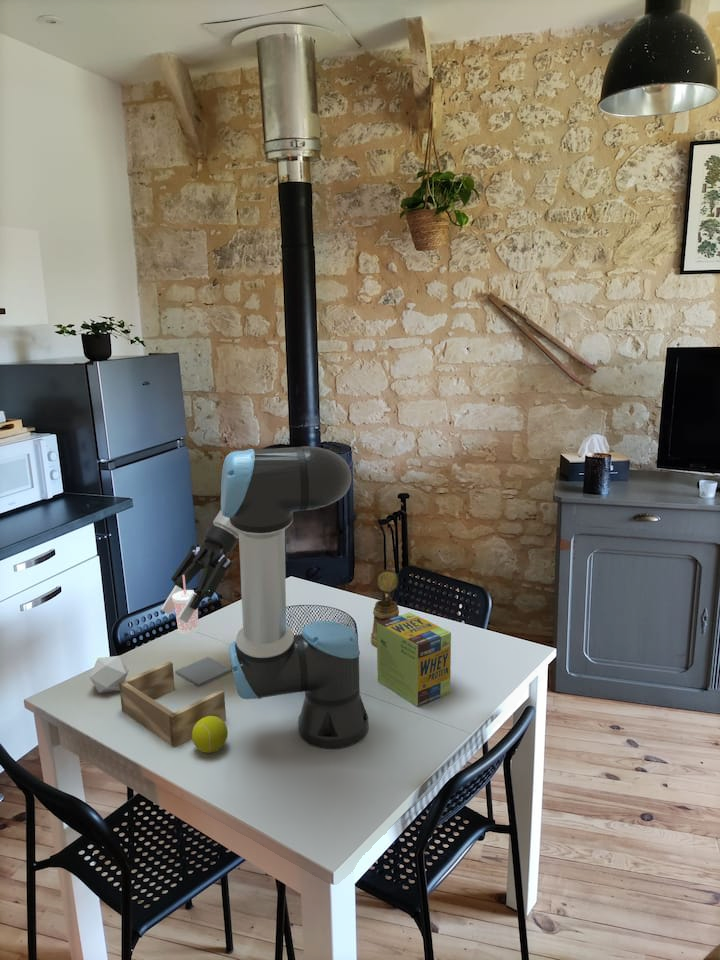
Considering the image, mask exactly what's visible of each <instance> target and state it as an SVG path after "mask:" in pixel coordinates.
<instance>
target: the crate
mask: <svg viewBox="0 0 720 960" xmlns="http://www.w3.org/2000/svg"><path fill="white" fill-rule="evenodd" d="M175 686H176V685H175V675H174V663H173V662H172V661H168V662H165V663H163V664H161V665H158V666H156V667H153V668H151V669H149V670H146V671H144V672H141V673H139V674H137V675H135V676H132V677H130V678H128V679H127V678H126V679H125V681H122V682H120V683H119V688H120V691H119V695H120V705H121V711H122V712H123V713H124V714H126V715H128V717H130V718H132V719H133V720H135V722H137V723H139V724H140V725H142V726H143V727H144V728H146V729H147V730H149V731H150V732H152V733H154V734H155V735H156V736H157V737H159V738H161V739H162V740H164V741H165V742H166V743H168V744H169V745H170V746H172V747H174V748H176V747H178V746H180V745H182V744H184V743H186V742H188V741H189V740H191V739H192V731H193V728H194V726H195V724H196V723H197V722H198V721H199V720H200V719H202V718H204V717H207V716H216V717H218V718H220V719H221V720H222V721H223V722H224V723H225V722H226V721H227V714H226V713H227V711H226V698H225V691H223V690H222V689H220V690H218V691H216V692H213V693H212V694H209V695H207V696H205V697H203V698H202V699H199V700H197V701H195V702H193V703H191V704H189V705H187V706H185V707H183V708H180V709H179V710H178V709H177V711H175V712H174V711H172V710H170V709H169V708H167V707H166V706H164V705H162V704H161V703H160V702H158V701H156V700H155V699H157V698H160V697H162V696H164V695H167V694H168V693H171V692H173V691H175V690H176V687H175Z"/></svg>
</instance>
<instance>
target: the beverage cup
mask: <svg viewBox="0 0 720 960" xmlns="http://www.w3.org/2000/svg"><path fill="white" fill-rule="evenodd" d="M182 576H183V581H182V583H183V587H184V590H182V591H178V592H176V593H174V594H173V595H172V601H173V602H174V607H175V608H174V611H175V612H174V613H175V617H176V618H175V619H176V623H177V631H178V633H179V634H181V635H191V634H195V633H196V632H198V631H199V607H198V608H197V609H196V610H195V611H194V612H193V614H192V616H191V617H190V619H189V621H188V622H187V623H186V622H184V621H182V620H181V619H179V618H177V617H178V616H179V614H180V612H181V611H182V609H183V607H184V606H185V604H186V603H187V601H188V599H189V598H190V596H191V594H192V593H194V589H187V588H186V587H187V585H186V586H185V575H182ZM195 594H196V593H195Z"/></svg>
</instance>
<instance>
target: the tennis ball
mask: <svg viewBox="0 0 720 960" xmlns="http://www.w3.org/2000/svg"><path fill="white" fill-rule="evenodd" d="M228 734H229V733H228V726H227V725H226V723H225V721H224V722H223V721H222V720H221V719H220V718H218V717H216V716H207V717H204V718H202V719H200V720H199V721H198V722H197V723H196V724H195V726H194V728H193V731H192V742H193V745H194V747H195V748H197V750H198V751H200V752H202V753H206V754H207V753H208V754H212V753H216V752H217V751H219V750H220V749H221V748H222V747H223V746H224V745H225V743H226V741H227V739H228Z"/></svg>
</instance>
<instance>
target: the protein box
mask: <svg viewBox="0 0 720 960" xmlns="http://www.w3.org/2000/svg"><path fill="white" fill-rule="evenodd" d="M451 647H452V632H451V631H449V630H447V629H445V628H443V627H441V626H439V625H436V624H435V623H433V622H431V621H429V620H426V619H424V618H422V617H421V616H418V615H416V614H414V613H412V612H407V613H404V614H401V615H399V616H397V617H394V618H391V619H387V620H384V621H381V622H378V623H377V647H376V650H377V651H376V654H377V655H376V656H377V660H376V663H377V665H376V666H377V667H376V668H377V673H376V674H377V675H376V676H377V679H376V680H377V682H379V683H380V684H382V685H384V686H385V687H387V688H388V689H390V690H392V692H394V693H396V694H397V695H398V696H400V697H402V698H403V699H405V700H406V701H408V702H410V703H411V704H412V705H414V706H416V707H417V708H418V707H420V706H422V705H423V706H424V704H427V703H430V702H432V701H434V700H436V699H439V698H441V697H444V696H446V695H448V694H451V670H452V669H451V668H452V667H451V664H452V661H451V658H452V657H451V656H452V655H451V654H452V652H451V649H452V648H451Z"/></svg>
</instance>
